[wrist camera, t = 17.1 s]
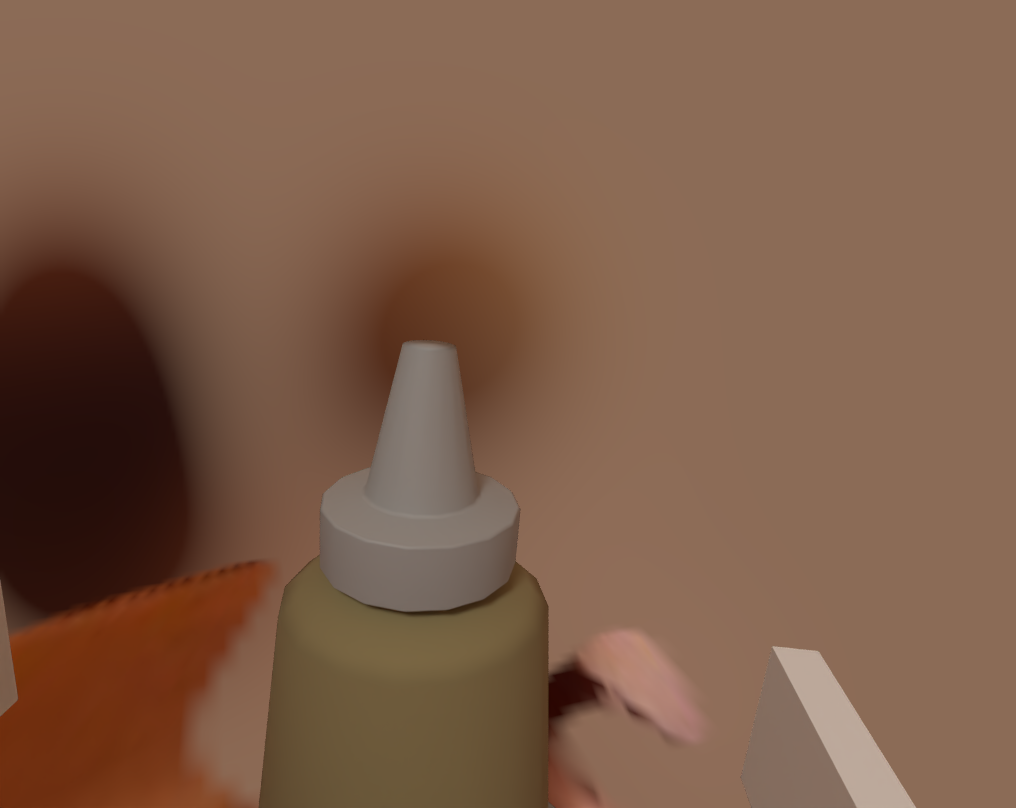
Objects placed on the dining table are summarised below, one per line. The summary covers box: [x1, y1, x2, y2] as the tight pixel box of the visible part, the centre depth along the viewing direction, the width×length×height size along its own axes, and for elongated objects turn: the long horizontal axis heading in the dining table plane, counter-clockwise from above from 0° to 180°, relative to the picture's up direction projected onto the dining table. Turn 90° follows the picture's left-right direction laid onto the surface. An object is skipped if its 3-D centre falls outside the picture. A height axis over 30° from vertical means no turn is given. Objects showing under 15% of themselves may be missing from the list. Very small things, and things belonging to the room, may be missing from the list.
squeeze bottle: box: [259, 340, 548, 808], centre depth 17 cm, size 8×8×18 cm
